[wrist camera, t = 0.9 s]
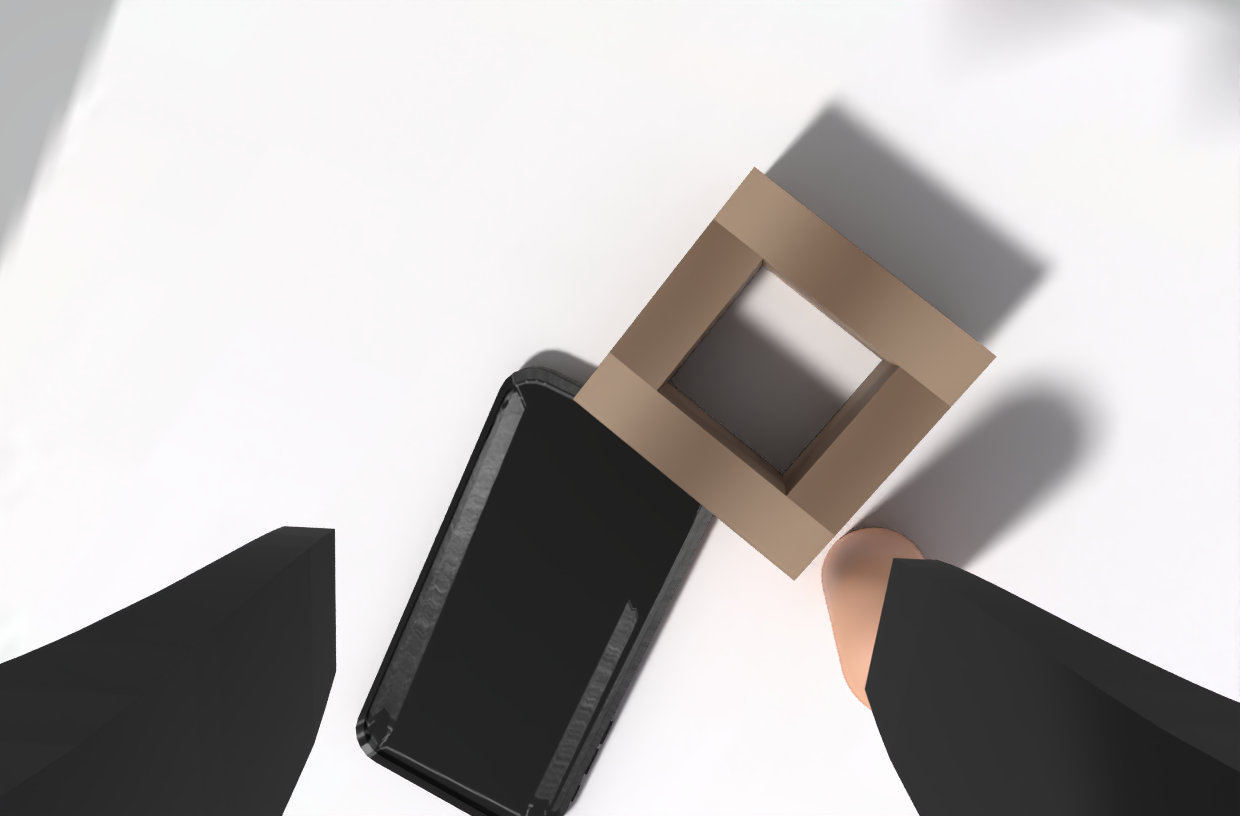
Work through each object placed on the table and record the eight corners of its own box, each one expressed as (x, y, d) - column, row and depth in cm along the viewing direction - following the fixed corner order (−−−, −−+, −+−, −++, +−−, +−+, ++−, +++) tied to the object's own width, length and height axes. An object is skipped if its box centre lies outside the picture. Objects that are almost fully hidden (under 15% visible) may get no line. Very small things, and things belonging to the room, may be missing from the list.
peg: (951, 573, 25) (1011, 654, 19) (880, 647, 25) (917, 748, 19) (868, 506, 25) (902, 566, 19) (800, 581, 25) (812, 662, 20)
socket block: (966, 351, 24) (996, 356, 21) (790, 549, 25) (794, 580, 22) (754, 184, 24) (754, 166, 21) (594, 389, 26) (573, 399, 23)
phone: (346, 745, 28) (513, 355, 25) (362, 729, 29) (523, 353, 26) (546, 857, 27) (741, 466, 25) (554, 836, 28) (742, 459, 26)
